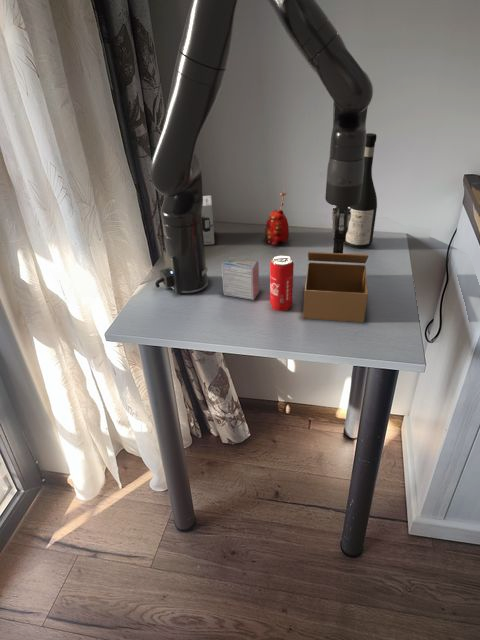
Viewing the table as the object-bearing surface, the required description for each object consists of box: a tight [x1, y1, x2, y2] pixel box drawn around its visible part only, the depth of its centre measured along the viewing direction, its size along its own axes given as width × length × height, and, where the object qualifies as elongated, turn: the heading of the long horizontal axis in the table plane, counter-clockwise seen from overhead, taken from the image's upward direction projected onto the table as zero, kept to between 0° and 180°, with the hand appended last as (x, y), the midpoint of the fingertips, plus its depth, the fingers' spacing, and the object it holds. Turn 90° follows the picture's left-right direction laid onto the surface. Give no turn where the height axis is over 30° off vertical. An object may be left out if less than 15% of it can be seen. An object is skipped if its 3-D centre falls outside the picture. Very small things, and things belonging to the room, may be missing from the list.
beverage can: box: [269, 254, 295, 312], centre depth 110 cm, size 5×5×12 cm
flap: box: [307, 251, 370, 264], centre depth 111 cm, size 7×14×1 cm
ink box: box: [201, 195, 216, 246], centre depth 140 cm, size 9×5×12 cm, turn 6°
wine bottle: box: [344, 132, 378, 249], centre depth 131 cm, size 8×8×30 cm
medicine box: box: [221, 256, 260, 301], centre depth 115 cm, size 8×4×9 cm, turn 71°
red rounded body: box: [264, 189, 290, 247], centre depth 138 cm, size 8×7×15 cm
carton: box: [302, 261, 369, 323], centre depth 111 cm, size 14×14×7 cm
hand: (337, 254), depth 111 cm, fingers closed
